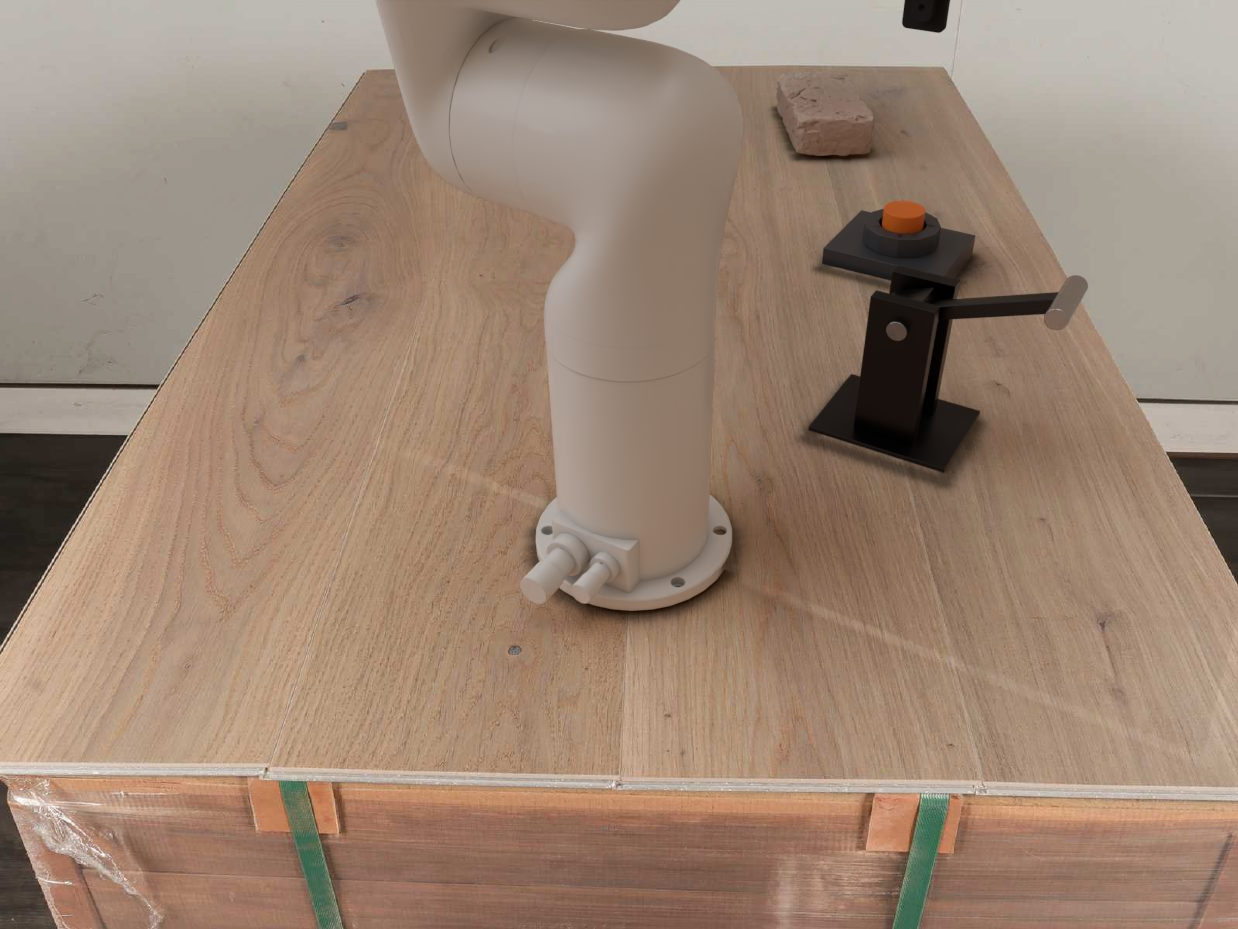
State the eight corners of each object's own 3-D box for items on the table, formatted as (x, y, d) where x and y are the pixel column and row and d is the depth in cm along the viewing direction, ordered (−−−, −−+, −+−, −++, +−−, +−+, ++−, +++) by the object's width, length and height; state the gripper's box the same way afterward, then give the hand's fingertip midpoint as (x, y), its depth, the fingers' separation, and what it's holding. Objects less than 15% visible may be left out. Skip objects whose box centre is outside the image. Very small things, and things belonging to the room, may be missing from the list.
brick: (773, 107, 134) (775, 67, 131) (842, 104, 134) (846, 65, 131) (795, 162, 121) (799, 120, 118) (872, 160, 121) (878, 117, 118)
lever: (1090, 301, 71) (1085, 266, 70) (1070, 337, 67) (1065, 301, 66) (908, 312, 78) (902, 281, 77) (882, 345, 75) (875, 312, 74)
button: (928, 223, 100) (931, 205, 99) (914, 239, 98) (917, 221, 96) (890, 215, 101) (892, 197, 100) (875, 230, 99) (877, 212, 98)
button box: (971, 256, 102) (979, 216, 100) (939, 299, 96) (946, 257, 94) (858, 231, 107) (863, 191, 105) (821, 269, 101) (825, 229, 99)
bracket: (977, 424, 82) (1008, 280, 74) (941, 483, 76) (971, 334, 69) (849, 386, 86) (867, 247, 79) (806, 439, 81) (821, 295, 73)
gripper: (1000, -235, 68) (955, 51, 78) (1076, -265, 79) (1028, -12, 90) (883, -239, 71) (855, 36, 81) (972, -268, 82) (937, -23, 93)
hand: (946, 11), depth 85 cm, fingers open, 9 cm apart
